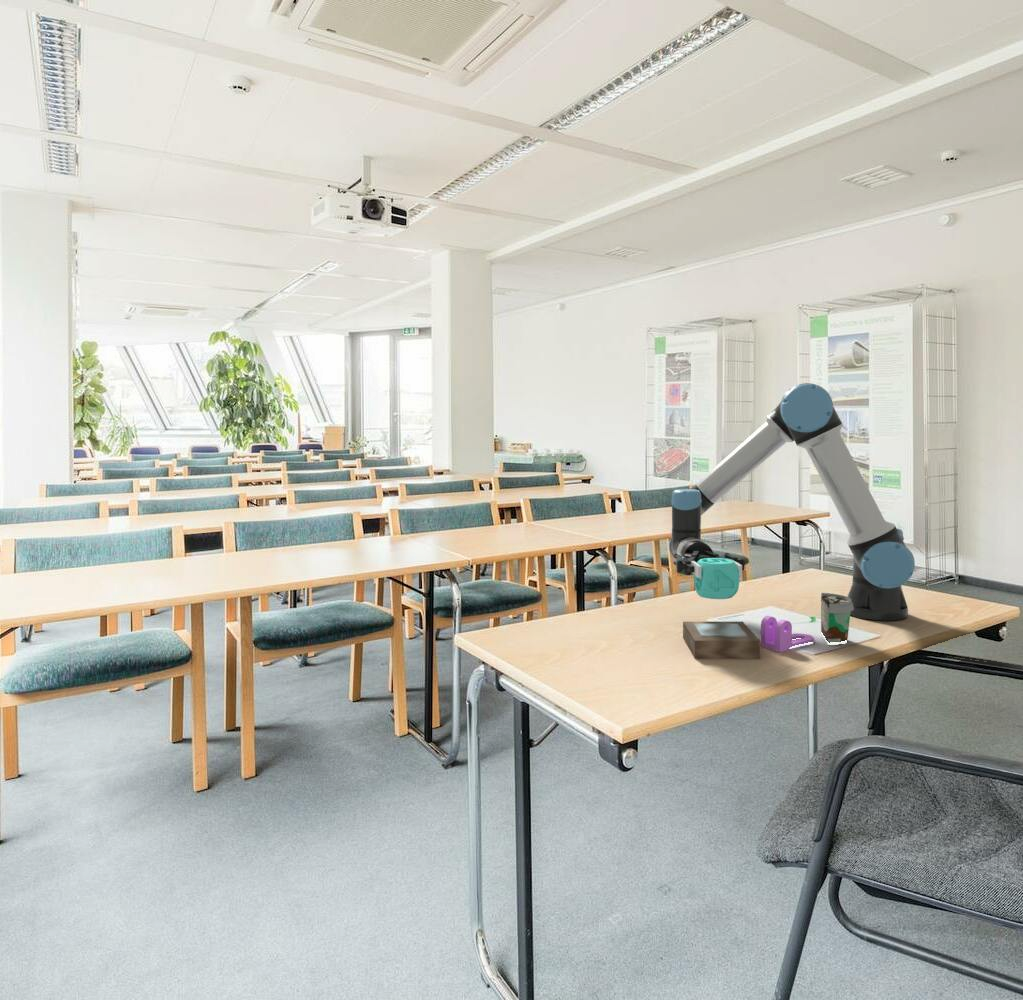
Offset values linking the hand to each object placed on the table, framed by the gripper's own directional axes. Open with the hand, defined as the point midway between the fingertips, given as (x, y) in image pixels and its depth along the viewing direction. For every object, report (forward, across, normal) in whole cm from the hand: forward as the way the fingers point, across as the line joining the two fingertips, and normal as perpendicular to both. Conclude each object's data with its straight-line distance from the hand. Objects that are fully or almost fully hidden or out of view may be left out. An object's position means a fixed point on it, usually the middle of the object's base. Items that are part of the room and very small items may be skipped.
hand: (720, 571), depth 169 cm
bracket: (-3, -17, -18) cm, 25 cm away
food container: (-6, -29, -18) cm, 35 cm away
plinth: (-2, 0, -18) cm, 18 cm away
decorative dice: (-3, 0, -6) cm, 7 cm away
